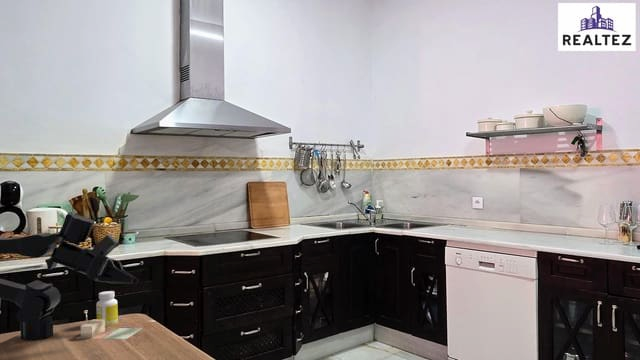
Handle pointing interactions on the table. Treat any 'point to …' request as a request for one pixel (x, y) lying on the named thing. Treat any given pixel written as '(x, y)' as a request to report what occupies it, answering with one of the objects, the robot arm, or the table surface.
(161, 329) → the table surface
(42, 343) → the table surface
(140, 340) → the table surface
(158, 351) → the table surface
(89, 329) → the beech block
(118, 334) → the sorting board
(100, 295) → the supplement bottle
